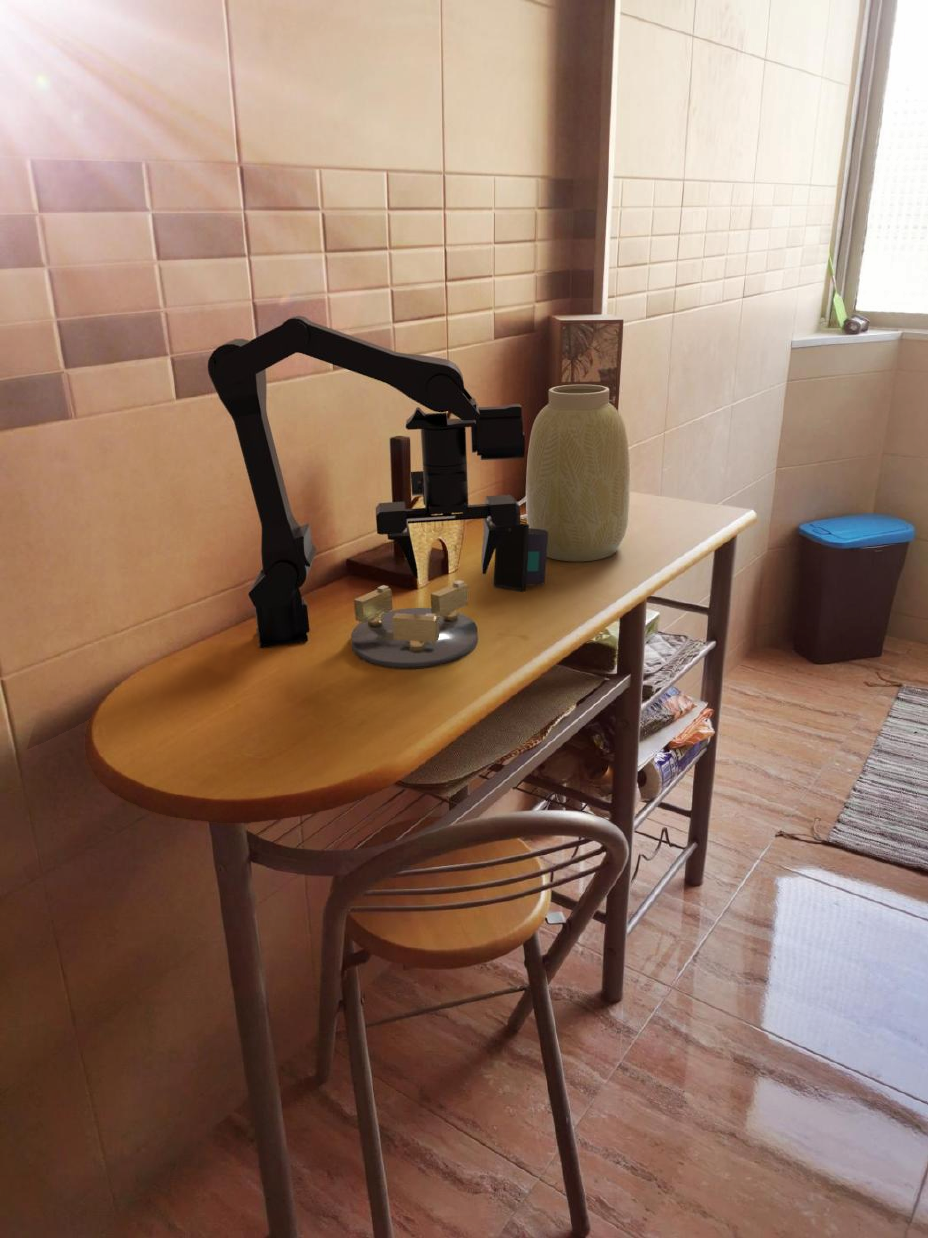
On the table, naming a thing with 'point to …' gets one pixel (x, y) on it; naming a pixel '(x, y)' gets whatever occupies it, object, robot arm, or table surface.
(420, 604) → the table surface
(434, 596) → the knob right
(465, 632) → the plate
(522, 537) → the speaker
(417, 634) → the knob front
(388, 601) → the knob left
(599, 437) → the vase
